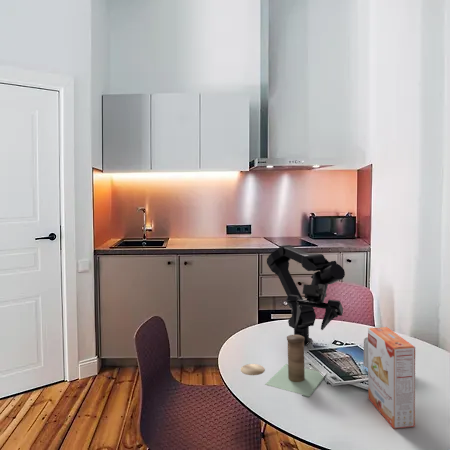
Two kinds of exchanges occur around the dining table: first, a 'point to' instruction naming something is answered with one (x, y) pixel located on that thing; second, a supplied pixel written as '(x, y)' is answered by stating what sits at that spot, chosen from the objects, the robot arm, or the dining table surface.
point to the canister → (296, 358)
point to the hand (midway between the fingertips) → (308, 327)
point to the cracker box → (391, 376)
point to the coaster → (252, 369)
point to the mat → (302, 387)
